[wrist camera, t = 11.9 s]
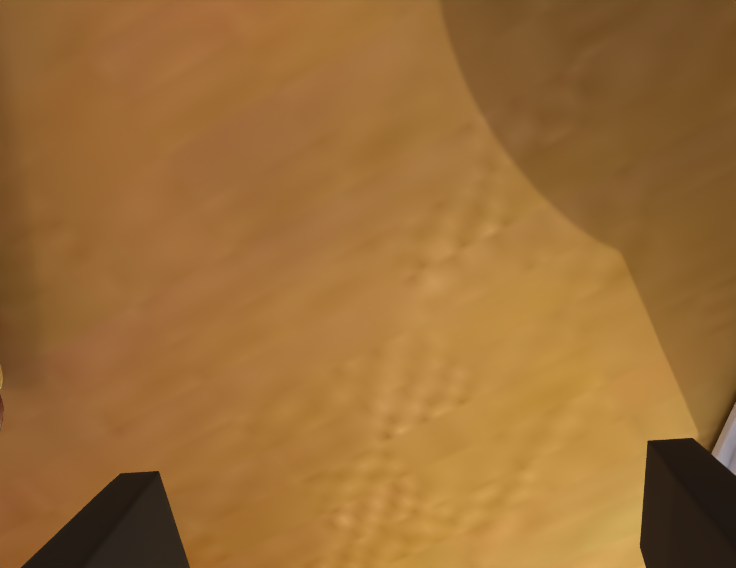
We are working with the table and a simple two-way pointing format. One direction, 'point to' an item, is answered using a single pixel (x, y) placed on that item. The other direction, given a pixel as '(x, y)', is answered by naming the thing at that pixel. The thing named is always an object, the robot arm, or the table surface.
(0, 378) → the sauce bottle
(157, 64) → the table surface
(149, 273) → the table surface
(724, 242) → the table surface
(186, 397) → the table surface
